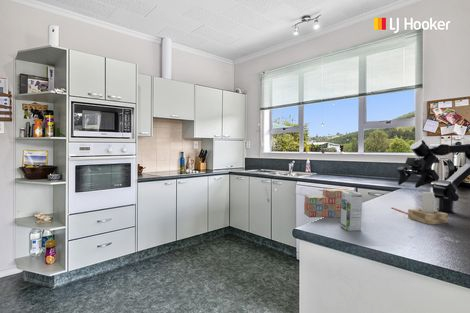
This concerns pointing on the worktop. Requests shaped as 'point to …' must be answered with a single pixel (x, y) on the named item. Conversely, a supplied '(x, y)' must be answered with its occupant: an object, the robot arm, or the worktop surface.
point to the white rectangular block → (428, 202)
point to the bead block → (427, 216)
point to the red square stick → (400, 210)
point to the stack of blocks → (324, 203)
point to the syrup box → (351, 210)
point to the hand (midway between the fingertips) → (406, 185)
